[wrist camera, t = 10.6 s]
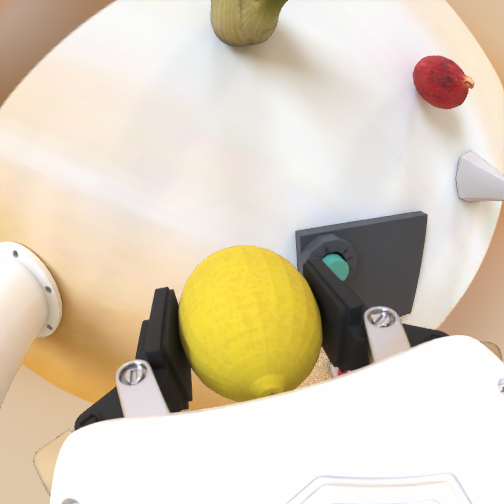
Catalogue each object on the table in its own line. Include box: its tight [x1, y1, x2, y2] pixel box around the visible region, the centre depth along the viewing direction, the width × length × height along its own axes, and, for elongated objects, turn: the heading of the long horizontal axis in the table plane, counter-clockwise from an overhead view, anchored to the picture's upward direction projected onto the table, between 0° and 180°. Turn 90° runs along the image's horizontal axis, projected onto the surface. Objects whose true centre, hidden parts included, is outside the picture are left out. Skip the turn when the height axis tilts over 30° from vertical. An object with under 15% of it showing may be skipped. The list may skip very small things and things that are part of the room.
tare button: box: [322, 253, 349, 281], centre depth 25 cm, size 3×3×2 cm
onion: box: [413, 56, 474, 109], centre depth 18 cm, size 6×6×8 cm
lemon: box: [178, 246, 323, 402], centre depth 11 cm, size 6×6×8 cm
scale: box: [296, 211, 427, 317], centre depth 29 cm, size 16×14×3 cm
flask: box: [456, 151, 504, 202], centre depth 23 cm, size 7×7×10 cm
